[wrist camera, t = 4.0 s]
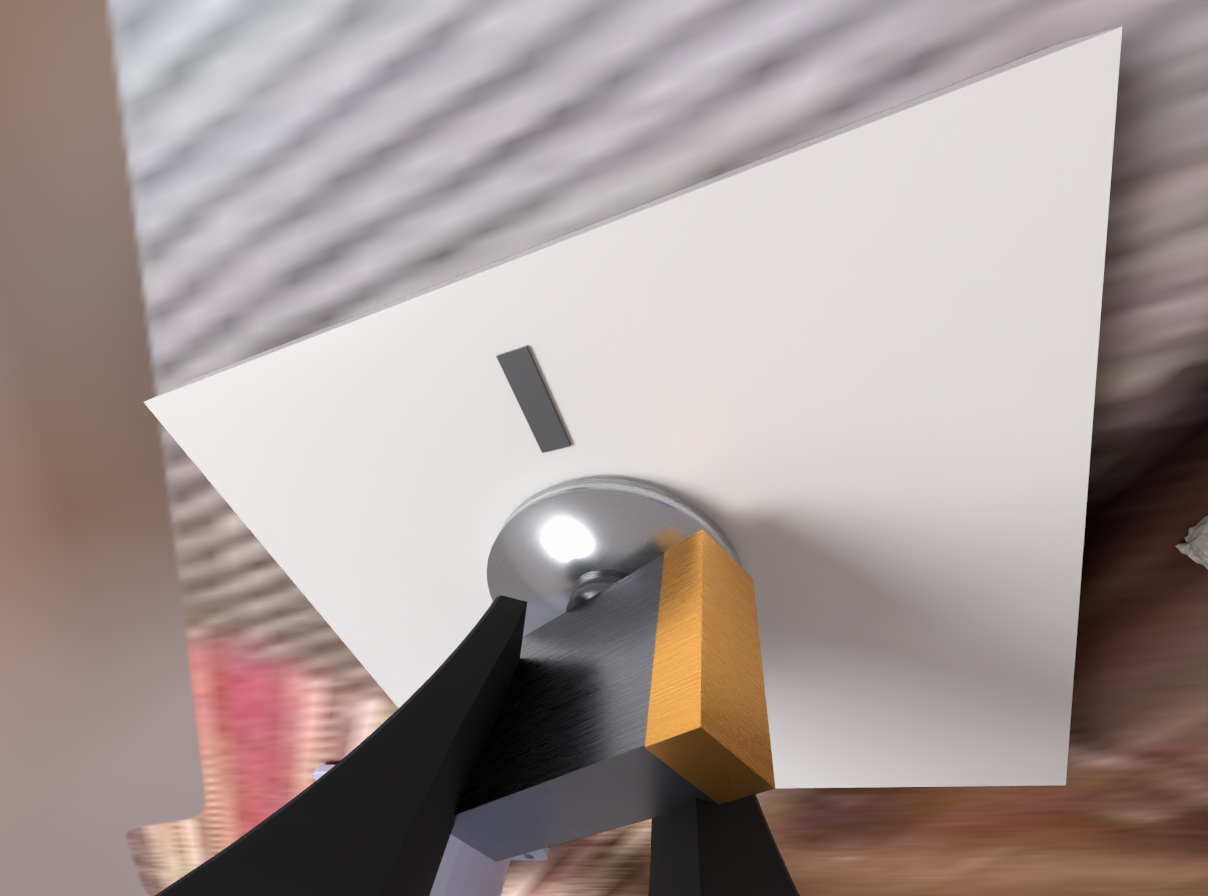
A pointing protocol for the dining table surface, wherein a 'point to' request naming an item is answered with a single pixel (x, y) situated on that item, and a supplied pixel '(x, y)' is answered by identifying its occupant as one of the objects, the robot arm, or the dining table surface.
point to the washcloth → (1197, 543)
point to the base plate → (748, 422)
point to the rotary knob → (618, 670)
